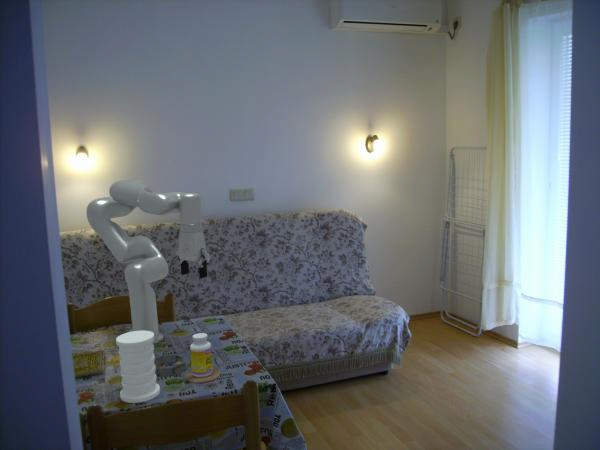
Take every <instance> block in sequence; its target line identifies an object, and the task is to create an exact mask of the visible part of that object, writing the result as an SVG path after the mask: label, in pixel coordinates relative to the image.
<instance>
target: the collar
mask: <svg viewBox="0 0 600 450" xmlns="http://www.w3.org/2000/svg"><path fill="white" fill-rule="evenodd" d="M168 363H175V364H174V365H173V366H163V367H159V366H161V365H163V364H168ZM154 364H155V367H156V370H155V374H156V377H165V376H166V377H168V376H175V375H177V374H179V373H181V372H184V371H186V370H187V368H188V356H187V355H183V354H180V353H169V354H168V353H166V354H161V355H159V356H158V355H157V356H155V361H154Z"/></svg>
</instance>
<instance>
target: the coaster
mask: <svg viewBox="0 0 600 450" xmlns="http://www.w3.org/2000/svg"><path fill="white" fill-rule="evenodd" d="M220 376H221V370H220V369H218V368H216V367H213V372H212V374H211V375H209V376H206V377H195V376H193V375H192V370H189V372H187V373H186V374H185V379H186V381H187V382H189V383H193V384H206V383H211V382H213V381H216V380H218V379H219V378H220Z"/></svg>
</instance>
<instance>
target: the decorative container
mask: <svg viewBox="0 0 600 450" xmlns="http://www.w3.org/2000/svg"><path fill="white" fill-rule="evenodd" d="M153 340H154V333H153V332H151V331H132V332H129V331H128V332H125V333H122V334H120V335H118V336H116V339H115V342H116V343H115V344H116V346H118V354H119V355H118V356H119V366H120V372H119V374H120V377H121V387H122V389H121V390H120V392H119V398H120V400H121V401H123V402H124V403H128V404H138V403H144V402H148V401H150V400H153V399H154V398H157V396H159V395H160V393H161V386H160V384H159V383H157V379H158V378H157V376H156V374H155V370H156V367H157V366H156V367H155V364H154V361H155V358H156V356H155V354H154V350H155V344H153V343H152V341H153Z"/></svg>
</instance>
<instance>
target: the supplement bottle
mask: <svg viewBox="0 0 600 450" xmlns="http://www.w3.org/2000/svg"><path fill="white" fill-rule="evenodd" d="M208 339H209V338H208V334H207V333H203V332H199V333H196V334H193V335H192V343H191V344H190V346H189V351H190V363H191V371H192V375H193V376H195V377H206V376H209V375H211V374H212V372H213V368H214V367H213V355H212V354H213V352H212V343H211V342H209V341H208Z"/></svg>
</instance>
